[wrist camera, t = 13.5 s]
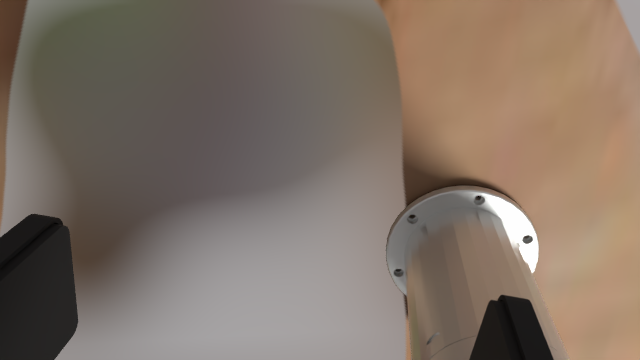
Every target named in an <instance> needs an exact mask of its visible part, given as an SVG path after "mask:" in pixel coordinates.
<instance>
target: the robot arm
mask: <svg viewBox="0 0 640 360" xmlns="http://www.w3.org/2000/svg"><path fill="white" fill-rule="evenodd" d="M476 196H480V197H478V198H476ZM410 215H414V216H410ZM538 257H539V243H538V238H537V233H536V231H535V229H534V227H533V224H532V222H531V221H530V219H529V217H528V216H527V214H526V213H525V211H524V210H523V209H522V208H521V207H520V206H519V205H518V204H517V203H516V202H514V201H513V200H511V199H510V198H508V197H507V196H505V195H504V194H501V193H499V192H496V191H494V190H492V189H488V188H483V187H478V186H464V185H460V186H452V187H445V188H442V189H438V190H435V191H432V192H430V193H427V194H425V195H423V196H421V197H419V198H418V199H416V200H415V201H414V202H412V203H411V204H409V205H408V206H407V207H406V208H405V209H404V210H403V211H402V212H401V213H400V214H399V215H398V217H397V218H396V220H395V222H394V223H393V225H392V227H391V229H390V232H389V235H388V238H387V245H386V261H387V265H388V270H389V273H390V275H391V277H392V279H393V281H394V283H395V284H396V286H397V287H398V288H399V289H400V291H401V292H402V293H403V294H404V295H405V296H407V303H408V317H409V331H410V345H411V359H412V360H570V358H569V356H568V354H567V351H566V349H565V347H564V344H563V342H562V340H561V338H560V335H559V333H558V331H557V328H556V326H555V324H554V322H553V319H552V317H551V315H550V312H549V310H548V308H547V306H546V303H545V301H544V299H543V296H542V294H541V292H540V290H539V287H538V285H537V283H536V280H535V278H534V276H533V272H534V271H535V268H536V264H537V261H538ZM77 324H78V315H77V304H76V294H75V284H74V274H73V264H72V254H71V244H70V234H69V229H68V227H66V226H63V223H62V221H61V220H60V219H59V218H55V217H50V216H44V215H38V214H31V215H29V216H27V217H26V218H25V219H23V220H22V221H21V222H20V223H18V224H17V225H16V226H14V227H13V228H12V229H11V230H9V231H8V232H7V233H6V234H4V235H3V236H2V237H0V360H54V359H55V358H56V357H57V356H58V354H59V353H60V351H61V350H62V349H63V347H65V345H66V344H67V343H68V341H69V340H70V339H71V337H72V336H73V335H74V333H75V331H76V328H77Z"/></svg>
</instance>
